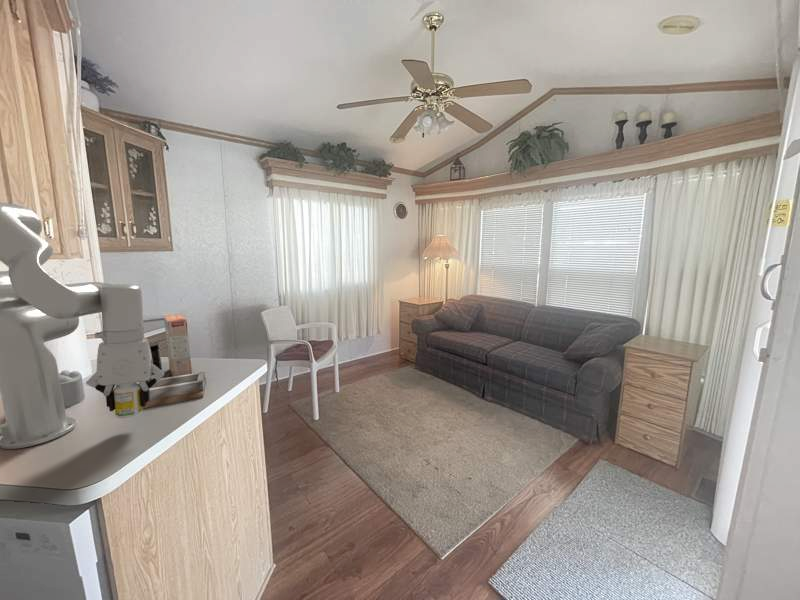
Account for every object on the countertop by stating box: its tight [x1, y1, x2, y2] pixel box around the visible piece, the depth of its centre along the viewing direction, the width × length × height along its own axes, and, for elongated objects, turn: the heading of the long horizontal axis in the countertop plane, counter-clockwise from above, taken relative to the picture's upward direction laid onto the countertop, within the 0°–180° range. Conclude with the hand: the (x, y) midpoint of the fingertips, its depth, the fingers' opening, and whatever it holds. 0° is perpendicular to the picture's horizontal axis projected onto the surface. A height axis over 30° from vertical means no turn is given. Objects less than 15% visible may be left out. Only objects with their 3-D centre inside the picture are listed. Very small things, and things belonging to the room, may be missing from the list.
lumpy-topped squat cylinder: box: [58, 369, 86, 408], centre depth 98 cm, size 10×13×9 cm
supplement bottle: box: [114, 382, 144, 419], centre depth 81 cm, size 5×5×10 cm
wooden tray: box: [143, 371, 207, 409], centre depth 101 cm, size 18×14×4 cm
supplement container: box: [149, 342, 163, 375], centre depth 121 cm, size 7×7×10 cm
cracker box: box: [163, 314, 193, 377], centre depth 120 cm, size 14×6×21 cm, turn 40°
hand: (129, 405), depth 81 cm, fingers closed on supplement bottle, 5 cm apart
